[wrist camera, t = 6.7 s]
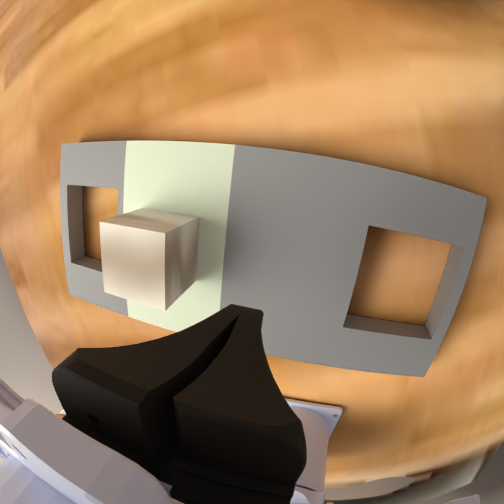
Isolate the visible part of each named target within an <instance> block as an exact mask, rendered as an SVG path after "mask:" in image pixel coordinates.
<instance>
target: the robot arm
mask: <svg viewBox="0 0 504 504" xmlns="http://www.w3.org/2000/svg"><path fill="white" fill-rule="evenodd" d="M263 316H264V313H263V311H262V310H259V309H254V308H249V307H244V306H240V305H235V304H230V305H228V306H227V307H225V308H223V309H221V310H220V311H218V312H216V313H215V314H213V315H211V316H209V317H208V318H206V319H204V320H202V321H200V322H198V323H196V324H194V325H192V326H190V327H188V328H186V329H184V330H181V331H179V332H177V333H174V334H171V335H168V336H165V337H162V338H159V339H156V340H151V341H147V342H143V343H139V344H134V345H127V346H120V347H110V348H78V349H77V350H76V351H75V352H73V353H72V354H71V355H70V356H69V357H67V358H66V359H65V360H64V361H63V362H62V363H60V364H59V365H58V366H57V367H56V368H55V369H54V370H53V372H52V382H53V385H54V388H55V391H56V393H57V396H58V398H59V400H60V402H61V404H62V407H63V409H64V411H65V413H66V415H65V416H64V417H63V418H62V419H61V418H59V417H58V416H56V415H55V414H53V413H52V412H51V411H49V410H48V409H46V408H45V407H43V406H42V405H41V404H39V403H37V402H35V401H33V400H31V399H26V400H24V399H23V398H22V397H20V396H19V395H18V394H17V393H16V392H14V391H13V390H12V389H11V388H10V387H9V386H8V385H7V384H6V383H5V382H4V381H3V380H1V379H0V456H1V457H2V458H3V459H4V460H5V461H4V462H3V463H2V464H1V465H0V504H324V496H325V492H324V484H325V474H326V462H327V450H328V439H329V437H330V436H331V434H332V432H333V430H334V428H335V426H336V424H337V422H338V420H339V418H340V416H341V414H342V408H341V407H338V406H330V405H323V404H317V403H310V402H304V401H298V400H293V399H287V398H284V397H283V395H282V393H281V391H280V389H279V387H278V386H277V384H276V382H275V380H274V378H273V375H272V373H271V370H270V368H269V365H268V362H267V359H266V355H265V351H264V346H263V341H262V332H261V329H262V322H263ZM334 414H336V415H334ZM326 504H334V503H332V502H329V503H326ZM444 504H481V503H480V499H479V495H477V494H476V495H472V496H468V497H464V498H460V499H455V500H452V501H449V502H447V503H444Z"/></svg>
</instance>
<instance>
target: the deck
mask: <svg viewBox="0 0 504 504" xmlns="http://www.w3.org/2000/svg"><path fill="white" fill-rule="evenodd" d="M83 186H93V187H105V188H116V189H119V190H118V215H121V214H125V213H128V212H131V211H134V210H137V209H140V208H144V209H151V210H158V211H165V212H172V213H179V214H185V215H192V216H199V217H200V219H199V234H198V251H197V271H196V281H195V282H194V283H193V284H192V285H191V286H190V287H189V288H188V289H187V290H186V291H185V292H184V293H183V294H182V295H181V296H180V297H179V298H178V299H177V300H176V301H175V302H174V303H173V304H172V305H171V306H170V307H169V308H168V309H167V310H166V311H163V310H160V309H157V308H153V307H150V306H146V305H143V304H140V303H137V302H133V301H130V300H127V299H124V298H121V297H118V296H115V295H112V294H109V293H106V292H104V282H103V272H102V260H98V259H95V258H91V257H87V256H85V247H84V231H83ZM486 203H487V198H486V197H483V196H480V195H477V194H474V193H471V192H468V191H465V190H462V189H459V188H456V187H453V186H449V185H446V184H443V183H439V182H436V181H433V180H429V179H425V178H422V177H418V176H414V175H410V174H406V173H403V172H398V171H394V170H390V169H386V168H381V167H377V166H372V165H368V164H363V163H358V162H353V161H348V160H343V159H337V158H332V157H326V156H320V155H314V154H308V153H301V152H294V151H287V150H279V149H271V148H263V147H253V146H243V145H232V144H219V143H204V142H184V141H100V142H81V143H67V144H62V147H61V168H60V205H61V227H62V240H63V251H64V260H65V269H66V276H67V283H68V290H69V294H70V295H72V296H75V297H77V298H80V299H82V300H85V301H87V302H90V303H93V304H95V305H98V306H100V307H103V308H106V309H109V310H111V311H114V312H117V313H120V314H123V315H125V316H128V317H131V318H134V319H137V320H140V321H143V322H146V323H149V324H152V325H156V326H159V327H162V328H165V329H169V330H172V331H175V332H179V331H181V330H184V329H186V328H188V327H190V326H192V325H194V324H196V323H198V322H200V321H202V320H204V319H206V318H208V317H209V316H211V315H213V314H215V313H216V312H218V311H220V310H221V309H223V308H225V307H227V306H228V305H230V304H235V305H240V306H244V307H249V308H254V309H259V310H262V311H263V313H264V316H263V322H262V329H261V332H262V341H263V346H264V351H265V355H270V356H275V357H280V358H285V359H290V360H295V361H301V362H306V363H312V364H318V365H324V366H330V367H337V368H343V369H350V370H358V371H366V372H374V373H383V374H393V375H404V376H417V377H424V376H425V374H426V373H427V371H428V369H429V367H430V365H431V363H432V361H433V359H434V357H435V355H436V353H437V351H438V349H439V347H440V345H441V343H442V340H443V338H444V336H445V334H446V332H447V329H448V327H449V325H450V322H451V320H452V318H453V315H454V313H455V310H456V308H457V305H458V302H459V300H460V297H461V294H462V291H463V289H464V286H465V283H466V280H467V277H468V274H469V271H470V267H471V264H472V261H473V257H474V254H475V250H476V247H477V243H478V239H479V235H480V231H481V227H482V222H483V218H484V213H485V208H486ZM368 226H374V227H379V228H384V229H389V230H393V231H398V232H403V233H407V234H412V235H416V236H421V237H425V238H429V239H434V240H438V241H442V242H446V243H451V248H450V252H449V256H448V259H447V262H446V266H445V269H444V272H443V276H442V279H441V282H440V285H439V288H438V291H437V294H436V296H435V299H434V302H433V305H432V307H431V310H430V313H429V315H428V318H427V320H426V323H425V325H424V326H423V325H415V324H408V323H401V322H394V321H388V320H381V319H375V318H368V317H362V316H356V315H350V314H347V311H348V308H349V304H350V301H351V297H352V293H353V290H354V286H355V282H356V278H357V274H358V270H359V266H360V262H361V258H362V254H363V249H364V245H365V240H366V236H367V231H368Z"/></svg>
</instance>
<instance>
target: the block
mask: <svg viewBox="0 0 504 504" xmlns="http://www.w3.org/2000/svg"><path fill="white" fill-rule="evenodd" d="M199 219H200V217H199V216H192V215H185V214H179V213H172V212H165V211H158V210H151V209H144V208H140V209H137V210H134V211H131V212H128V213H125V214H121V215H118V216H115V217H112V218H109V219H106V220H103V221H100V243H101V259H102V272H103V282H104V292H106V293H109V294H112V295H115V296H118V297H121V298H124V299H127V300H130V301H133V302H137V303H140V304H143V305H146V306H150V307H153V308H157V309H160V310H163V311H166V310H167V309H168V308H169V307H170V306H171V305H172V304H173V303H174V302H175V301H176V300H177V299H178V298H179V297H180V296H181V295H182V294H183V293H184V292H185V291H186V290H187V289H188V288H189V287H190V286H191V285H192V284H193V283H194V282H195V281H196V271H197V251H198V234H199Z"/></svg>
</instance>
